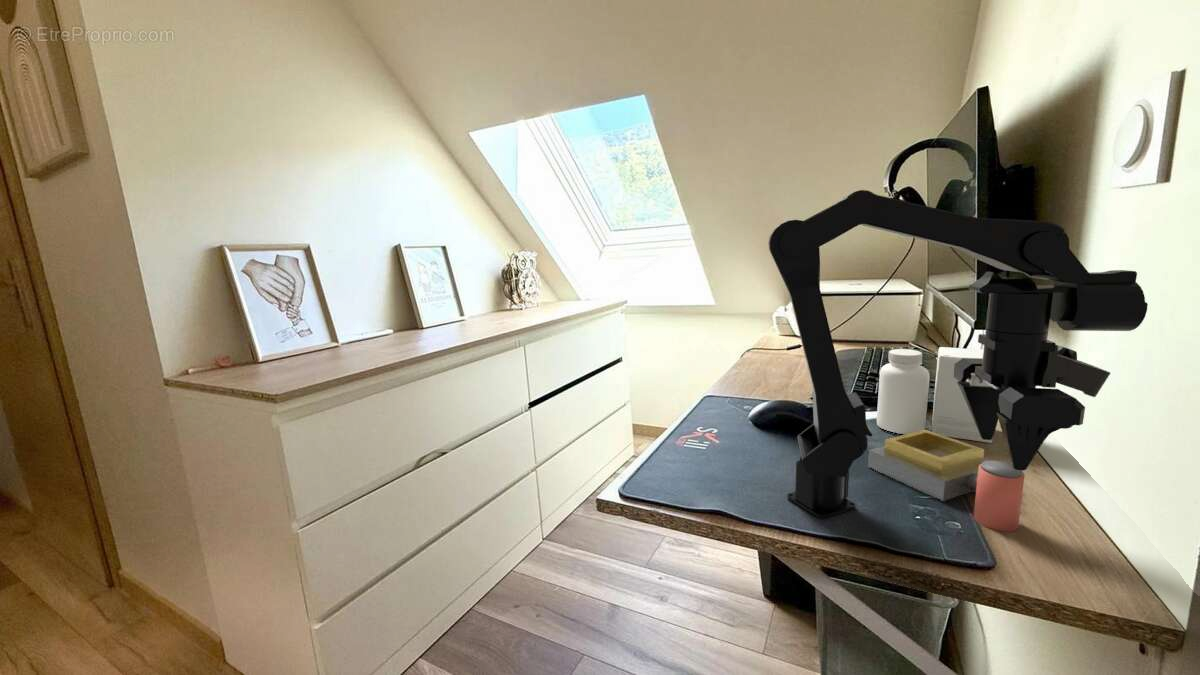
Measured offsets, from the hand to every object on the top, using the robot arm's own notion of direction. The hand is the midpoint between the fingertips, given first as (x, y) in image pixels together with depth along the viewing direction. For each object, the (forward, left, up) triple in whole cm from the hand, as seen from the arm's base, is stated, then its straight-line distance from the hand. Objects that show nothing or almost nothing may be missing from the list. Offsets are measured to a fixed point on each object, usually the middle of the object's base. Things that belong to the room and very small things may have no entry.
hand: (1001, 453), depth 62 cm
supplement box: (+26, +21, -10) cm, 35 cm away
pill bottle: (+18, +27, -10) cm, 34 cm away
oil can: (0, 0, -9) cm, 9 cm away
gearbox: (+5, +10, -9) cm, 15 cm away
